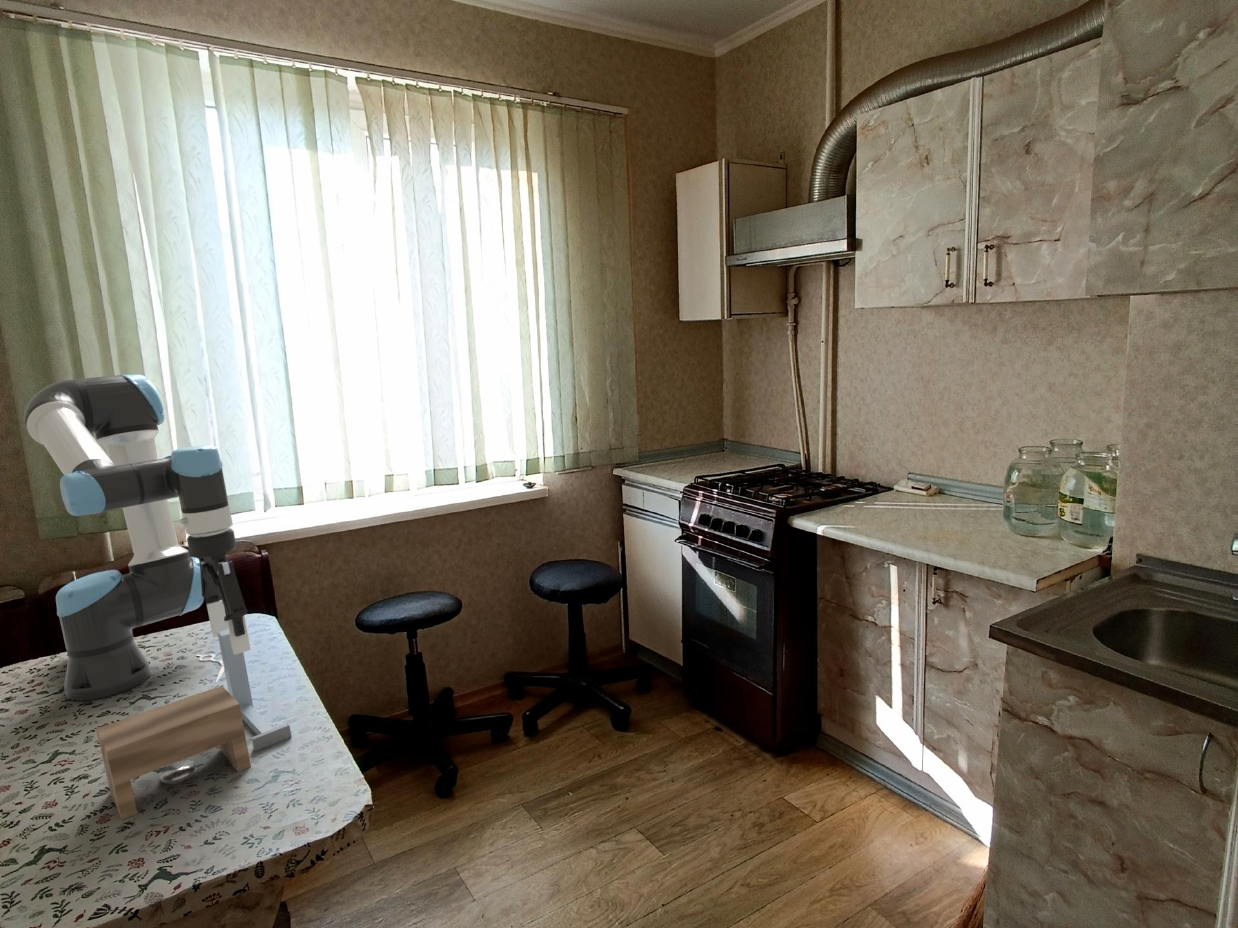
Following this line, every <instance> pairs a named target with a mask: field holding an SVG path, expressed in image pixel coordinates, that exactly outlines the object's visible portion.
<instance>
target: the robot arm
mask: <svg viewBox="0 0 1238 928" xmlns="http://www.w3.org/2000/svg"><path fill="white" fill-rule="evenodd" d="M164 421H165V412H164V405H163V403H162V400H161V398H160V394H159V393H158V390H157V388H156V387H155V385H154V384H153V383H152V382H151V380H150V379H149V378H148V377H146V376H145V375H142V374H116V375H107V376H97V377H88V378H76V379H65V380H61V381H57V382H53V383H51V384H49V385H47V386H45V387H43V388H42V389H40V390H39V391H37V393H35V394H34V395H33V396H32V397H31V398H30V400H29V401H28V403H27V404H26V406H25V409H24V411H23V424H24V428H25V429H26V432H27V433H28V435H29V436H30V437H31V438H32V439H33V440H34V441H35V442H36V443H38V444H40V445H42V446H44V447H45V449H46V451H47V453H48V454H49V455H50V456H51V458H52V459H53V461H54V462H55V464H56V465H57V467H58V468H59V470H60V471H61V472H62V474H63V475H62V476H61V477H60V479H59V489H60V494H61V499H62V502H63V504H64V507H65V510H66V511H67V513H68V514H69V515H71V516H74V517H78V516H79V517H80V516H85V515H86V516H87V515H98V514H100V513H104V512H110V511H114V510H119V509H122V510H123V515H124V520H125V524H126V528H127V532H128V536H129V539H130V544H131V548H132V551H133V557H132V558H131V560H130V561H129V563H128V569H129V573H126V574H122V573H121V572H120V571H119V570H117V569H107V570H105V571H104V570H103V571H99V572H95V573H90V574H88V575H85V576H82V577H80V578H76V580H75V579H74V580H73V581H71V582H68V583H66V585H64V586H63V587H61V588H60V589H59V590H58V591H57V593H56V595H55V603H56V615H57V617H58V619H59V621H60V622H59V623H60V626H61V631H62V634H63V635H62V636H63V640H64V644H65V649H66V650H65V651H66V652H67V666H66V671H65V679H64V682H63V688H64V689H63V690H64V694H65V697H67V698H69V699H72V700H71V701H73V700H77V701H76V702H83V701H84V700H85V701H93V700H98V699H102V698H107V697H110V696H115V695H117V694H119V693H123V692H125V691H129V690H130V689H132V688H135V687H136V686H139V685H141V684H142V683H143V682H145V681H146V680H147V679H149V677H150V676H151V673H152V671H151V668H150V667H151V666H150V664H149V661H148V659H147V658H146V657H145V655H144V654H143V652H142V650H140V648H139V645H137V644H136V642H135V638H134V633H133V629H136V628H139V627H142V626H146V625H149V624H153V623H156V622H161V621H163V620H166V619H170V618H173V617H176V616H177V617H178V616H182V615H184V614H186V613H189V612H192V611H195V610H197V609H199V608H200V607H201V606H202V605H203V603H204V602H206V609H207V613H208V620H209V624H210V629H211V633H212V637H213V638H215V637H218V633H217V632H220V631H223V630H227V629H229V634H230V640H231V645H232V650H233V654H234V655H236V654H239V653H242V652H243V653H244V652H247V651H251V644H250V641H249V635H248V629H247V623H246V619H245V615H246V616H247V615H248V609H247V608H246V604H245V601H244V596H243V594H242V591H241V587H240V584H239V580H238V578H237V575H236V571H235V566H234V565H235V564H234V562H233V560H228V558H227V557H226V554H227V553H230V552H233V551H234V550H235V549H236V548H237V543H236V542H237V541H236V537H235V531H234V529H232V526H233V519H232V514H231V513H232V512H231V509H230V503H229V501H228V499H229V498H228V494H227V489H226V483H225V477H224V472H223V462H222V461H221V457H220V453H219V450H218V448H217V447H216V446H214V445H213V444H207V445H194V446H187V447H181V448H177V449H175V450H173V451H172V452H171V453H170V454H171V455H167V456H165V457H162V458H158V456H157V452H156V446H155V444H154V439H155V438H156V437H157V436H158V434H159V427H158V426H160V425H163V423H164ZM93 434H94V435H95V437H94V436H93ZM100 445H102V446H104V447H105V448H106V449H107V452H108V455H109V456H108V455H107V453H106V452H105V451H104V449H103V448H102V446H100ZM176 498H178V500H179V504H180V510H181V513H182V516H183V518H180V519H179V524H181V525H184V529H185V533H186V535H188V537H187V538H186V541H187V547H188V549H186V548H185V547H183V546H181V545H180V544H179V540H178V536H177V532H176V528H175V524H174V521H173V516H172V512H171V509H170V508H171V507H170V504H169V500H171V499H176ZM67 698H66V699H67ZM69 699H68V700H69ZM79 700H80V701H79ZM85 701H84V702H85Z"/></svg>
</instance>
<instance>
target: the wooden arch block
mask: <svg viewBox="0 0 1238 928" xmlns="http://www.w3.org/2000/svg"><path fill="white" fill-rule="evenodd" d="M243 721H244V720H243V719H242V716H241V710H240V705H239V703H238V702H237V701H236V700H235V699H234V698H233V697H232V696H231V695H230V694H229V691H228V689H226V688H225V687H224V686H223V685H220V686H217V687H214V688H212V689H207V690H206V691H202V692H199V693H196V694H193V695H191V696H188V697H184V698H181V699H179V700H176V701H174V702H169V703H167V704H164V705H161V706H158V707H156V708H152V709H150V710H146V711H144V712H141V713H138V714H134V715H132V716H128V717H125V718H123V719H120V720H117V721H114V722H111V723H108V724H106V725H102V726H99V727H97V728H95V730H96V734H97V735H96V736H97V739H98V743H99V748H100V752H101V758H102V761H103V766H104V770H105V775H106V780H107V783H108V788H109V793H110V795H111V796H110V797H111V798H112V800H113V802H114V805H115V807H116V810H117V812H118V814H119V817H120V818H121V821H123V820H126V819H128V818H130V817H132V816H135V815H138V814H139V813H138V810H137V809H138V808H137V805H136V804H137V803H136V801H135V796H134V792H133V787H132V786H133V785H132V782H131V780H134V779H136V778H139V777H141V776H144V775H147V774H149V773H152V772H155V771H156V770H159V769H163V768H166V767H167V766H169V765H171V764H173V763H176V762H179V761H184V760H186V759H188V758H191V757H193V756H195V755H197V754H201V753H203V752H206V751H209V750H212V749H213V748H217V747H218V746H219V749H220V751H221V753H222V754H223V755H224V756H225V757H226V759H227V760H228V762H229V763H230V764H231V765H232V766H233V768H234V769H235V771H236V772H237V773H238V772H241V771H244V770H246V769H248V768H251V767H252V764H251V759H250V755H249V750H248V749H249V748H248V743H247V739H246V733H245V727H244V722H243Z"/></svg>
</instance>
